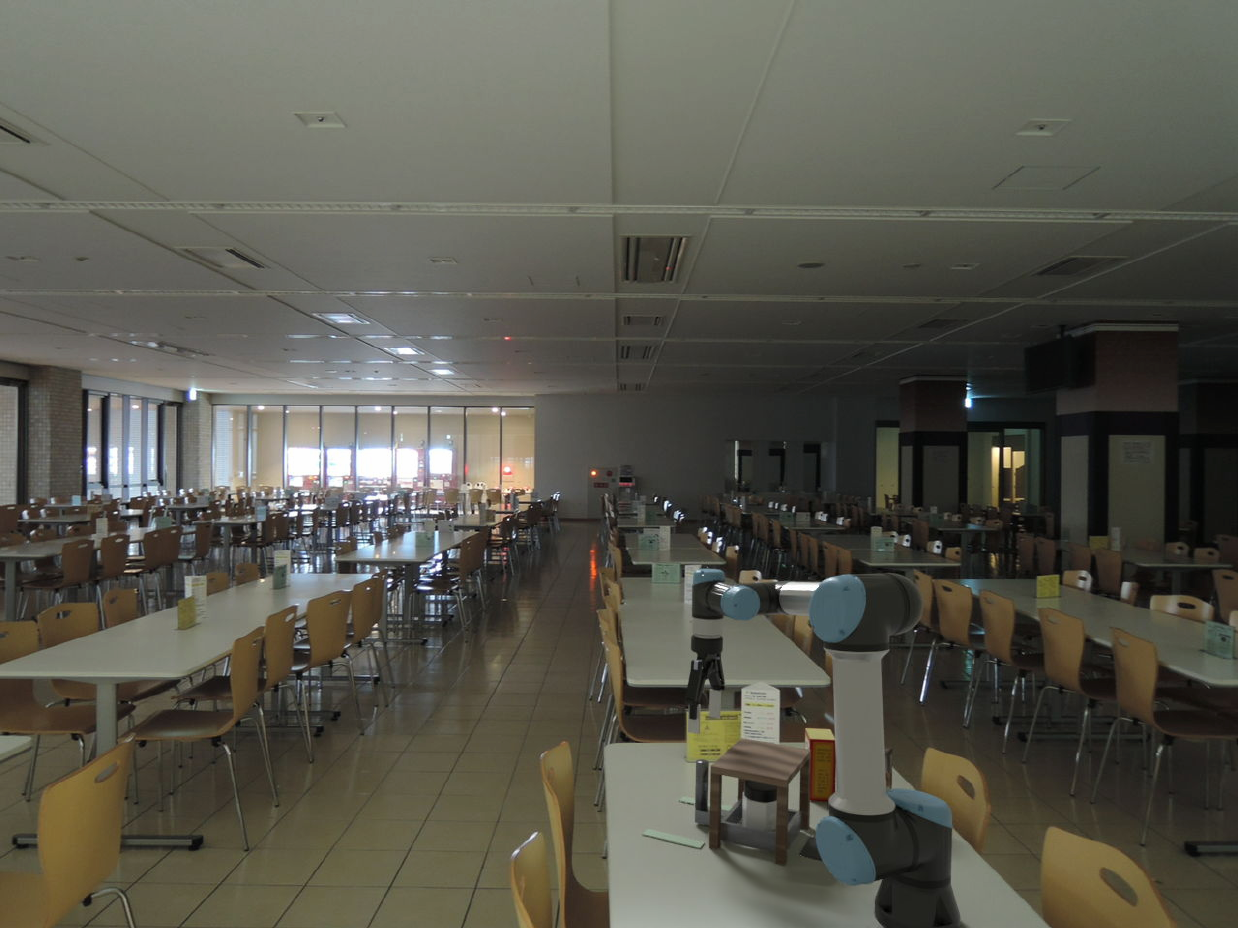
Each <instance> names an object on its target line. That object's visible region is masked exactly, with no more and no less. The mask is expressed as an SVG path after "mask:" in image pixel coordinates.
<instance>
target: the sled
mask: <svg viewBox="0 0 1238 928" xmlns="http://www.w3.org/2000/svg"><path fill="white" fill-rule="evenodd" d="M709 763H710V762H709V760H707V759H705V758H704V759H701V758H700V759H697V760H695V791H694V794H695V797H694V799H695V805H694V808H695V809H694V823H695V824H700V825H705V826H708V827H709V820H710V807H708V801H709V774H710V772H709V769H710V768H709V765H710V764H709ZM742 803H743V799H739V800H738V799H737V801H736V802H735V804H734V805H733V806H732V808H731V809H730V810H729V811H725V810H721V842H726V843H731V844H734V845H739V846H744V847H748V848H752V849H756V850H757V849H758V850H762V851H766V852H770V853H774V854H776V832H772V831H767V830H762V829H758V828H753V827H749V826H744V825H742V824H740V821H742ZM801 830H803V829H802V811H799V810H797V809H793V808H792V809H791V808H788V846H787V851H788V850H789V848H791V846H792V844H793V843H794V841H795V839H797V836H798V835H799V834H800V832H801Z"/></svg>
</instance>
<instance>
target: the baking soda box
mask: <svg viewBox="0 0 1238 928" xmlns="http://www.w3.org/2000/svg"><path fill="white" fill-rule="evenodd" d="M804 749H808V750H811V774H810V800H811V801H810V802H823V803H829V797H830V796H831V795H833V794H834V793H835V792H836V752H835V734H833V732H832V730H831V729H830V728H816V727H805V728H804Z"/></svg>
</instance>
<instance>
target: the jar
mask: <svg viewBox="0 0 1238 928" xmlns="http://www.w3.org/2000/svg"><path fill="white" fill-rule="evenodd" d="M776 812H777V786H776V785H771V784H766V783H760V782H755V781H750V780H746V781H745V782H744V792H743V803H742V819H741V825H744V826H749V827H753V828H758V829H762V830H767V831H772V832H776Z"/></svg>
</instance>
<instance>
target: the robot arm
mask: <svg viewBox="0 0 1238 928" xmlns="http://www.w3.org/2000/svg"><path fill="white" fill-rule="evenodd" d="M725 575H726V574H725V572H724V570H721V569H716V568H698V569H696V570H694V571H693V576H692V584H691V618H690V620H689V622H690V623H691V633H692V634H691V637H690V650H691V652H693V653H695V654H696V655H697V657H696V659H692V660H691V661H690V671H689V676H688V681H687V688H686V692H685V697H684V704H685V705H688V709H687V710H688V712H687V713H688V716H687V717H688V719H687V720H688V721H687V733H692V734H697V735H699V734H701V715H702V714H701V711H702V709H701V708H702V706H701V704H700V702H701V698H702V695H703V691H704V687H705V684H706V680H708V682H709V685H710V688H711V689H709V694H708V695H709V698H708V699H709V700H708V702H709V704H708V717H710V718H715V719H720V718H721V716H722V715H721V711H722V708H721V707H722V706H721V705H722V702H721V701H722V691H725V690H726V686H725V684H726V681H725V674H724V669H723V663H722V652H723V650H724V648H723V647H724V637H723V636H722V635H724V621H725V620H724V619H725V617H727V618H730V619H732V620H734V621H743V622H745V621H746V622H747V621H750V620H751V619H753V618H754V617H761V616H769V615H770V616H772V615H784V616H804V617H808V619H809V623H810V626H811V627H812V628H813V632H814V634H815V635H816V637H818V638H819V639H820V640H822V641H823V650H824V651H825V652H826V653H827V654H828V655H829V656H830V657H831V660H832V683H833V684H832V685H833V687H832V688H833V712H834V715H833V719H834V720H833V721H834V737H835V752H836V777H835V784H836V789H835V793H834V794H833V795H831V796H830V797H829V802H828V816H824V817H823V818H821V819H820V821H819V823H817V825H816V828H815V838H816V843H817V848H818V851H819V854H820V856H821V858H822V860H823V861H822V863H823V864H824V866H826V869H827V870H828V872H829V873H830V874H831V875H832V876H833V877H834V878H835V879H836V880H837V881H838V882H840V883H842V884H844V885H847V886H851V887H852V886H853V887H856V886H860V885H871V884H873V883H874V882H876V881H880V880H881V882H880V884H879V888H878V890H877V893H876V896H875V899H874V916H875V918H876V919H878V920H877V921H878V922H879V923H880V924H881V925H882V926H883V927H885V928H961V921H962V920H961V913H960V909H959V906H958V903H957V899H956V897H955V894H954V889H953V887H952V851H953V848H952V847H953V829H954V825H953V816H952V815H953V813H952V812H953V811H952V809H951V807H950V806H949V804H948V803H947V802H946V801H944V800H943V799H941V798H939V797H937V796H935V795H932V794H930V793H927V792H924V791H919V790H915V789H909V788H901V787H900V788H892V789H890V790H889V791H888V792H887V794H886V780H885V752H884V746H885V734H884V733H885V730H884V726H885V725H884V705H883V704H884V703H883V702H884V701H883V700H884V699H883V676H882V675H883V674H882V670H883V669H882V659H883V658H884V656H885V655H887V653H889V652H890V636H891V637H892V636H897V635H898V636H899V635H902V634H905V633H908V632H909V631H911V630H912V629H914V627H916V625H917V624H918V623H919V621H920V620H921V619H922V618H921V617H922V615H923V613H924V612H923V611H924V599H923V596H922V592H921V591H920V589H919V588H918V586H917V585H916V584H915V583H914V581H912V580H911V579H910V578H908V577H907V576H904V575H901V574H898V573H892V572H883V573H864V574H858V573H857V574H842V575H836V576H831V577H826V578H825V579H824V580H822V581H796V580H795V581H794V580H792V581H791V580H780V581H768V582H767V581H766V582H748V583H747V582H744V583H733V582H727V581H726V578H725V577H726V576H725Z"/></svg>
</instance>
